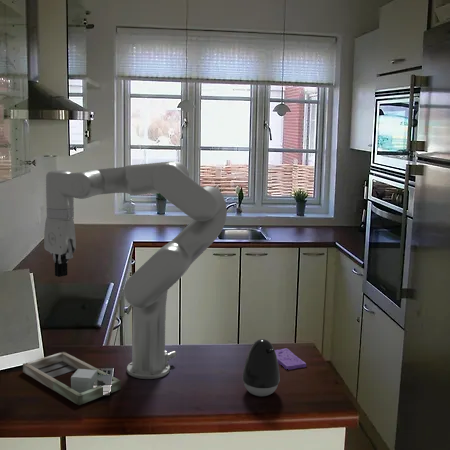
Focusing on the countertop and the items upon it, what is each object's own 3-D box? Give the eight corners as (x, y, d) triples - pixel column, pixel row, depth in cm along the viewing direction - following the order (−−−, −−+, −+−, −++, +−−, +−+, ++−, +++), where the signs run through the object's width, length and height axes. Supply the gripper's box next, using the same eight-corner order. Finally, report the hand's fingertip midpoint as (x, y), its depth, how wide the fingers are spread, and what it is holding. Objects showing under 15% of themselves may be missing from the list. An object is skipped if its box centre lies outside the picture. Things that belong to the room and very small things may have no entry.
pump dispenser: (254, 404, 152) (256, 349, 149) (235, 387, 161) (237, 336, 159) (286, 396, 157) (289, 343, 154) (266, 381, 166) (269, 331, 163)
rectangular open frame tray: (63, 359, 176) (63, 351, 176) (120, 389, 158) (120, 380, 157) (23, 372, 166) (22, 363, 166) (78, 405, 148) (78, 396, 148)
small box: (78, 384, 160) (77, 368, 159) (98, 386, 159) (98, 369, 159) (70, 394, 154) (70, 376, 154) (91, 395, 154) (90, 378, 153)
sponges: (286, 353, 188) (287, 347, 188) (306, 368, 177) (306, 362, 177) (267, 356, 186) (267, 350, 185) (286, 371, 174) (286, 365, 174)
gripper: (34, 211, 168) (36, 272, 171) (63, 218, 158) (64, 283, 161) (57, 209, 174) (58, 268, 177) (86, 215, 164) (86, 278, 167)
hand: (61, 275), depth 169 cm, fingers closed
